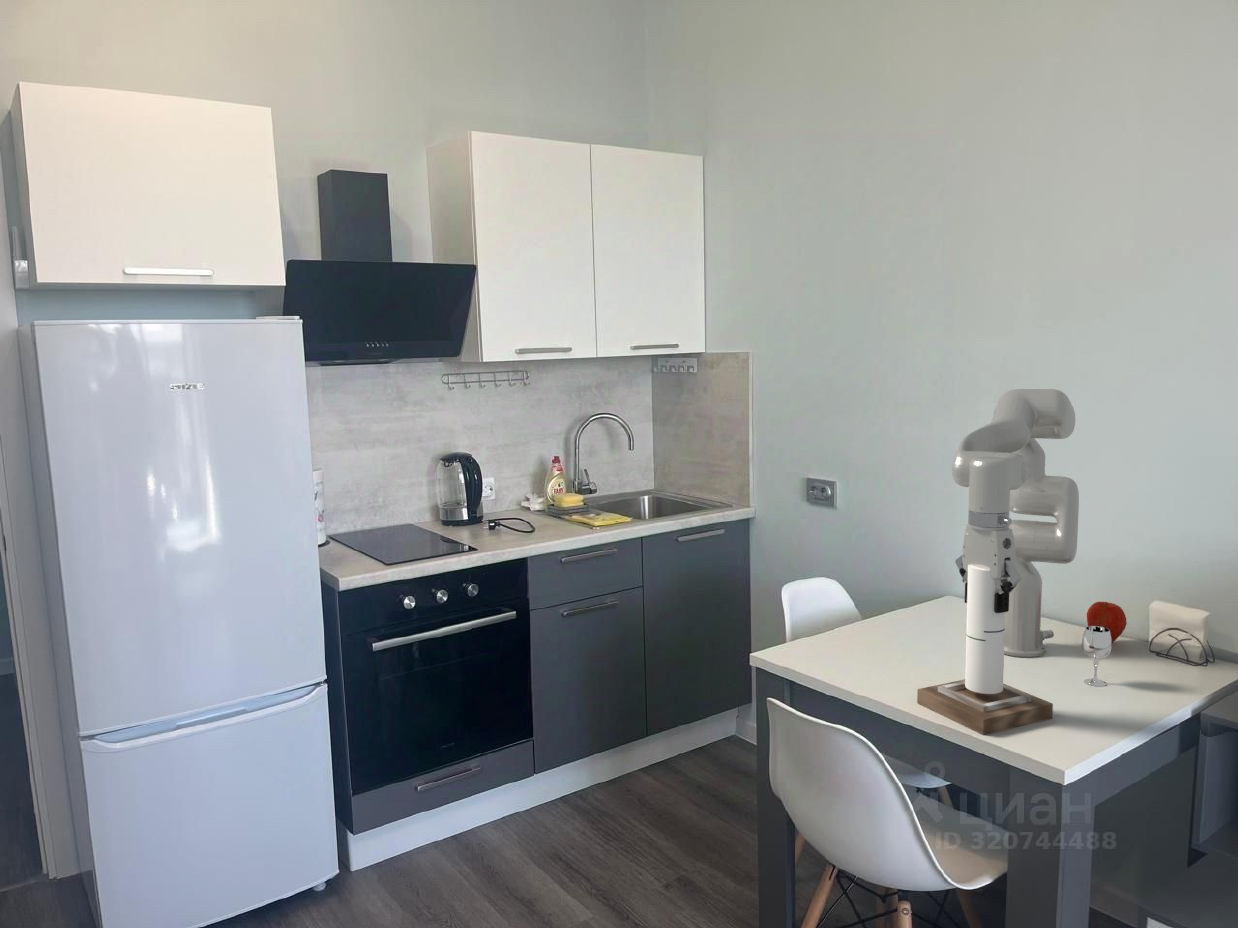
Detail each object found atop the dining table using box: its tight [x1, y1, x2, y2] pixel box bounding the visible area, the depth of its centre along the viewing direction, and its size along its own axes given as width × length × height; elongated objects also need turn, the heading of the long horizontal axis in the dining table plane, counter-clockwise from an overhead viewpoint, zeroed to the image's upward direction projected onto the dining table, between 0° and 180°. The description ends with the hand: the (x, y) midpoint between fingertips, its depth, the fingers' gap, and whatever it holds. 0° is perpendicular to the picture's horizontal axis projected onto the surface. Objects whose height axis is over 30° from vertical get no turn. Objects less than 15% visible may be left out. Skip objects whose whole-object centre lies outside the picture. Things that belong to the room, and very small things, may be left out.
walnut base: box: [916, 678, 1054, 736], centre depth 189 cm, size 18×18×4 cm
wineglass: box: [1081, 625, 1113, 687], centre depth 202 cm, size 6×6×12 cm
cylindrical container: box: [964, 565, 1005, 694], centre depth 187 cm, size 7×7×25 cm
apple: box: [1086, 601, 1128, 644], centre depth 228 cm, size 9×8×11 cm
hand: (986, 606), depth 187 cm, fingers closed on cylindrical container, 7 cm apart
